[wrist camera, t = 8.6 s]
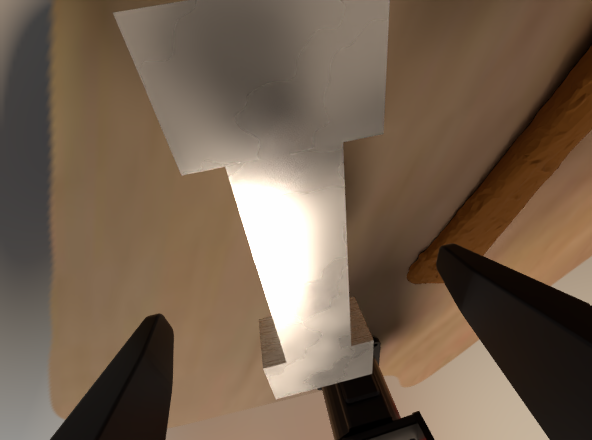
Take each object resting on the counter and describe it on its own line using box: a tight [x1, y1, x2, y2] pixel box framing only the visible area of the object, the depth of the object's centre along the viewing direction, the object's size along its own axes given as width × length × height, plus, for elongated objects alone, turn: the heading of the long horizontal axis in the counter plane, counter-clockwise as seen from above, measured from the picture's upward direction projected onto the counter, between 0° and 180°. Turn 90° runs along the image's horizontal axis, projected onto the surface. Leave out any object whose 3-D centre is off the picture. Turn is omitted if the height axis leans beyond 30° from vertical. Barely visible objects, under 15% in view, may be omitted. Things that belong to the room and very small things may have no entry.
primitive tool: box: [407, 45, 592, 284], centre depth 17 cm, size 19×6×4 cm, turn 168°
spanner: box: [113, 0, 390, 399], centre depth 10 cm, size 5×15×2 cm, turn 8°
